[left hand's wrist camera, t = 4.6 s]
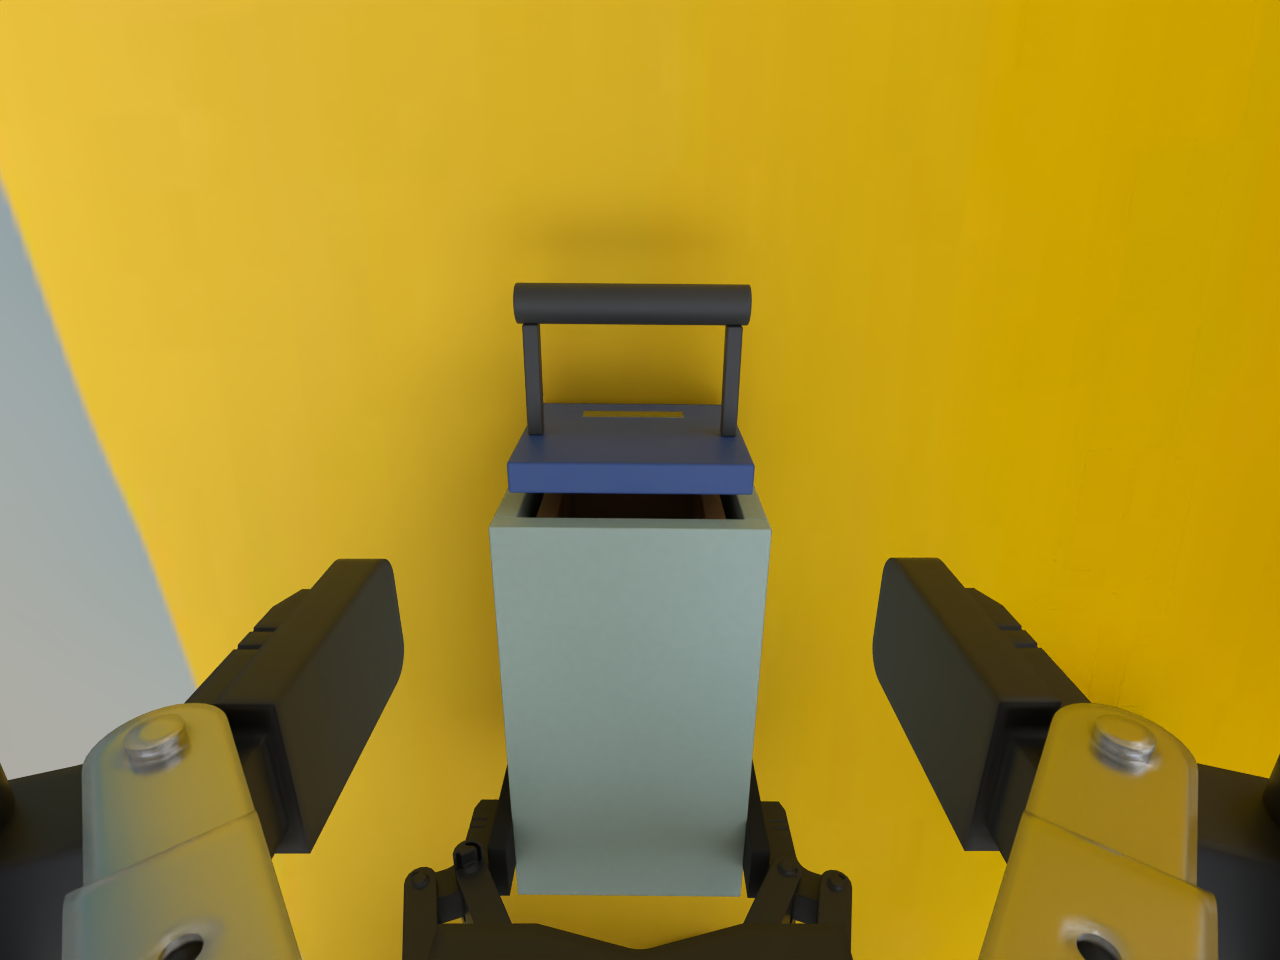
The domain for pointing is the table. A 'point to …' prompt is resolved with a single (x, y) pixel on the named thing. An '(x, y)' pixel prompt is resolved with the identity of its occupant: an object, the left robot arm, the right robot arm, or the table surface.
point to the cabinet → (629, 695)
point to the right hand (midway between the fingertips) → (631, 757)
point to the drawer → (631, 413)
